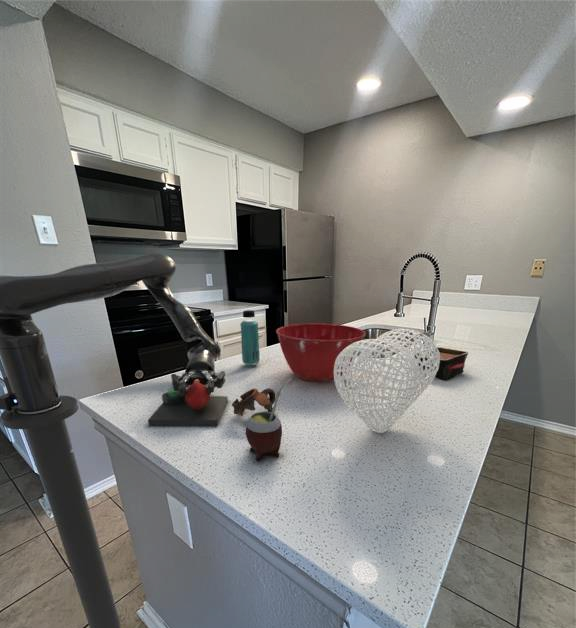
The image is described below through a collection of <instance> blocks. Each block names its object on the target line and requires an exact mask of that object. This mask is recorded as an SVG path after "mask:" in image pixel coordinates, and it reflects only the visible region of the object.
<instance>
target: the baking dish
mask: <svg viewBox="0 0 576 628" xmlns="http://www.w3.org/2000/svg"><path fill="white" fill-rule="evenodd" d="M436 347H437V348H438V350H439V353H440V363H439V368H438V371H437V373H436V375H435V377H434V378H436V379H439V380H441V381H444V382H446V381H449V380H452V379H454V378H456V377H459V376H460V375H461V374H463V373H464V372H465V371H464V368H465V365H466V364H465V363H466V360H467V359H468V358H467V357H468V355H469V352H468V351H465V350H460V349H454V348H449V347H441V346H436ZM428 350H429V349H426V351H428ZM435 350H436V349H435ZM422 352H423V353H424V350H423V351H422ZM436 352H437V350H436ZM432 353H433V351H432ZM428 354H429V352H428ZM413 355H414V354H413ZM417 355H418V356H419V353H417ZM420 356H421V354H420ZM430 356H431V353H430ZM434 356H435V355H434ZM431 357H432V356H431ZM415 358H416V359H417V356H416V355H415ZM434 359H435V360H436V358H434ZM420 360H421V362H422V361H423V358H422V357H421V358H420ZM427 360H428V358H427V356H425V361H427ZM431 361H432V360H431ZM418 365H419V366H420V363H419V364H418ZM428 365H429V363H428ZM432 366H433V364H432ZM428 369H429V367H428V366H427V370H428ZM435 369H436V367H435ZM424 370H425V365H424V366H423V371H424ZM431 372H432V370H431Z"/></svg>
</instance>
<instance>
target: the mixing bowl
mask: <svg viewBox="0 0 576 628" xmlns="http://www.w3.org/2000/svg"><path fill="white" fill-rule="evenodd" d="M275 333H276V335H277V338H278V342H279V345H280V349H281V351H282V354H283V356H284V360H285V362H286V363H287V365H288V367H289V369H290V370H291V372H293V373H294V374H295V375H296V376H298V377H299V378H300V379H302V380H304V381H308V382H314V383H315V382H316V383H325V382H327V383H328V382H334V364H335V361H336V358H337V357H338V355H339V354H340V353H341V351H343V350H344V349H345V348H346V347H347V346H349V345H350V344H352V343H354V342H357V341H361V340H364V338H365V336H366V335H367V333H366V331H365V330H363V329H360V328H358V327H354V326H349V325H342V324H335V323H297V324H296V323H295V324H289V325H284V326H280V327H279V328H277V329H276V330H275ZM359 344H360V343H359ZM357 346H358V345H357ZM348 351H349V350H348ZM355 352H356V351H355ZM355 352H354V353H353V355H354V354H355ZM349 353H350V352H349ZM349 358H350V357H349ZM352 358H353V357H351V360H350V362H351V361H352ZM344 359H345V358H344ZM339 362H340V361H339ZM343 362H344V360H343ZM342 365H343V364H342ZM349 366H350V364H349ZM342 368H343V367H341V370H342ZM338 370H339V366H338ZM345 370H346V369H345ZM348 370H349V368H348ZM345 374H346V371H345ZM337 375H338V372H337ZM340 376H342V372H340ZM337 378H338V377H337Z"/></svg>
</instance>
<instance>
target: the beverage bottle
mask: <svg viewBox="0 0 576 628" xmlns="http://www.w3.org/2000/svg"><path fill="white" fill-rule="evenodd" d="M242 317H243V318H247V319H243V320H242V321H241V322H240V338H241V345H240V346H241V360H242V363H243V364H244V365H245V364H246V365H255V364H258V363H259V362H260V357H261V356H260V354H261V353H260V336H259V334H260V333H259V323H258V321H257V320H255V319H251V318H255V317H256V314H255V310H253V309H252V310H250V309H249V310H248V309H247V310H243V311H242ZM248 318H250V319H248Z"/></svg>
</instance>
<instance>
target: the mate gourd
mask: <svg viewBox="0 0 576 628" xmlns="http://www.w3.org/2000/svg"><path fill="white" fill-rule="evenodd" d="M290 381H291V378H289V377H288V379H286V380H285V382H283V384H282V385H281V386H280V387H279V388H278V390H277V391H276V393H275V395H276V398H275V402H274V404H273V405H272V407H273V409H272V413H271V412H268V411H259V412H255V413H253V414H251V415H250V417H249V418H248V419H247V421H246V425H245V426H246V427H245V438H246V440H247V442H248V444H249V446H250V448H249V452H252V453H256V456H257V457H256V459H255V460H256V462H258V463H260V462H261V461H262V460H263V459H264V458H265V456H268V457H274V458H279V457H280V453H279V451H280V448H281V444H282V437H283V436H282V435H283V425H282V421H281V419H280V418H279V417H278V416H277V415H276V414H275V412H276V408H277V406H278V402H279V398H280V397H281V395H282V391H283V389H284V388H285V387H286V386H287V385H288V383H289V382H290Z"/></svg>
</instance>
